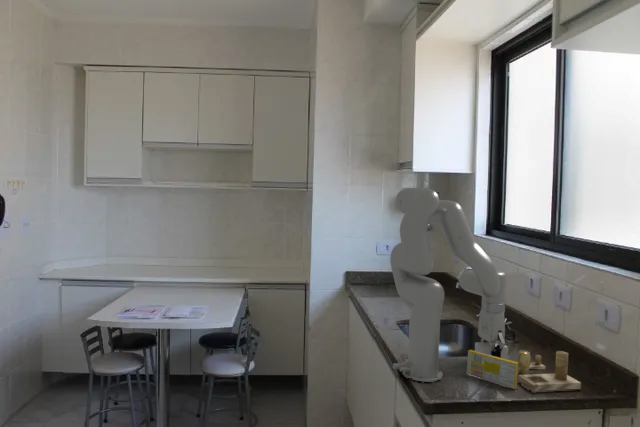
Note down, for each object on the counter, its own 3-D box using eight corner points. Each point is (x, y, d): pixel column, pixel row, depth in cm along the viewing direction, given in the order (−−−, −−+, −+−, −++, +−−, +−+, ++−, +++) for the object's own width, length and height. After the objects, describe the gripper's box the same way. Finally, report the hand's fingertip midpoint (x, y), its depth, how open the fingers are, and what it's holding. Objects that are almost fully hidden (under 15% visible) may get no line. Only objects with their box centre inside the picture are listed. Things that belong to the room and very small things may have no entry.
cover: (483, 365, 170) (483, 347, 170) (474, 359, 176) (475, 342, 175) (507, 364, 172) (508, 346, 171) (498, 358, 177) (498, 341, 177)
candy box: (517, 389, 155) (519, 362, 154) (514, 390, 153) (515, 363, 153) (469, 373, 166) (470, 348, 166) (466, 375, 165) (467, 350, 164)
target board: (533, 393, 151) (534, 358, 151) (517, 382, 159) (519, 349, 159) (580, 390, 154) (582, 356, 154) (563, 380, 162) (565, 348, 162)
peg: (521, 378, 163) (522, 353, 163) (515, 374, 166) (516, 350, 166) (530, 378, 164) (532, 353, 163) (524, 374, 167) (526, 350, 167)
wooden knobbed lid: (526, 370, 171) (527, 358, 171) (519, 365, 175) (520, 354, 174) (545, 369, 172) (546, 357, 172) (538, 365, 176) (538, 353, 176)
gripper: (470, 301, 180) (468, 351, 181) (496, 313, 163) (493, 368, 164) (490, 301, 182) (487, 350, 183) (517, 313, 165) (514, 367, 166)
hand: (490, 358), depth 174 cm, fingers closed on cover, 6 cm apart
